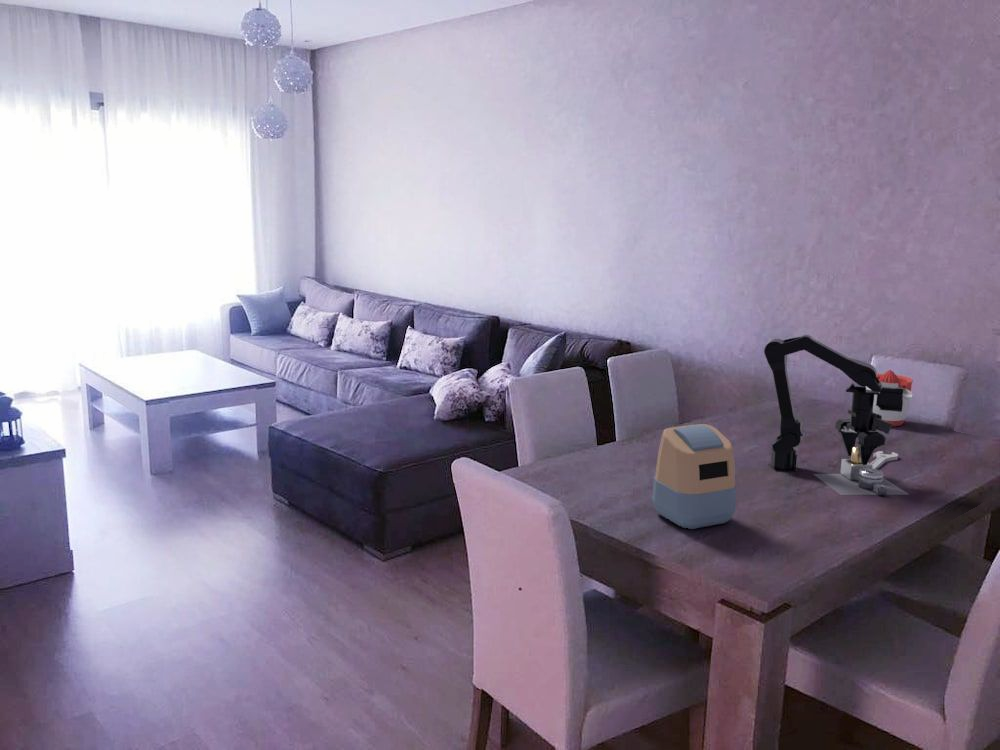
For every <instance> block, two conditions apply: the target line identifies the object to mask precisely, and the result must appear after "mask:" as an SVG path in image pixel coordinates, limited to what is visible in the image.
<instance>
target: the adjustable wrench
mask: <svg viewBox="0 0 1000 750" xmlns="http://www.w3.org/2000/svg"><path fill="white" fill-rule="evenodd" d="M872 454H873V456H872V458H874V460H873V461H871V462H869V463H870V464H872V465H873V469H879V468H880V467H881V466H882V465H883V464H885V463H887V462H890V461H897V460H898V459H899V454H898V453H897V452H894V451H893V452H891V454H890V453H889V454H887V453H884V451H883V450H877V451H876V452H873V453H872Z"/></svg>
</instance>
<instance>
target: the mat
mask: <svg viewBox="0 0 1000 750" xmlns="http://www.w3.org/2000/svg"><path fill="white" fill-rule="evenodd" d="M813 476H815V477H816V478H817V479H819V480H820V481H822V482H823V483H824V484H825V485H826V486H828V487H829V488H831V489H832V490H833V491H835V492H836V493H837V494H839V495H840V496H877V495H879V494H877V493H876V492H875V491H870V490H865V489H862V488H860V487H858V482H859V481H857V480H850V479H848V478H847V477H846V476H844V475H843V474H841V473H813ZM882 485H883V486H884V487H886V488H887V495H886V496H888V495H891V496H893V495H894V496H895V495H896V496H897V495H901V496H902V495H909V493H908V492H907V491H906V490H903V489H902V488H900V487H898V486H897V485H896V484H894V483H892V481H890V480H887V479H886V478H884V477H883V480H882ZM879 496H880V495H879Z"/></svg>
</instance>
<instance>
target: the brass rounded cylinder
mask: <svg viewBox="0 0 1000 750" xmlns="http://www.w3.org/2000/svg"><path fill="white" fill-rule="evenodd" d="M850 459H851V463H852V464H862V462H861V458H860V453H859V449H858V446H855V447H852V455H851V456H850Z"/></svg>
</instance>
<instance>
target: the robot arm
mask: <svg viewBox="0 0 1000 750" xmlns="http://www.w3.org/2000/svg"><path fill="white" fill-rule="evenodd" d="M800 351H805V352H807V353H809V354H811V355H812V356H813V357H814V356H815V357H816V358H818V359H820V360H822V361H824V362H826V363H827V364H829V365H831V366H834V367H835V368H837V369H839V370H840V371H842V372H843V374H845V375H846V376H847V377H848V378H850V379H851V380H852V382H851V384H850V385H849V386H847V387H846V389H845V392H846V393H852V394H851V395H852V396H851V407H850V409H847V414H849V415H850V416H849V417H850V418H839V419H837V420H836V421H835V429H837V432H838V434H839V436H840V439H841V441H842V444H843V446H844V449H845V452H846V454H847V456H849V457H851V455H852V447H856V446H855V445H856V444H857V447H858V449H859V453H860V458H861V462H862V465H867V463H869V460H870V459H871V456H872V454H874V451H875V449H878V447H882V446H885V445H886V441H887V437H886V436H885V435H884V434H886V435H889V433H890V432H891V429H892V427H893V426H892V425H893V424H891V423H889V422H887V421H885V420H883V419H882V416H881V415H879V414H876V413H874V412H873V405H874V395H877V402H876V406H878V408H880V410H886V411H897V412H902V406H903V388H901V387H896V388H893V387H882V384H881V382H880V381H879V380H878V378H877V377H876V374H878V373H877V370H876V367H875V366H874V365H872V364H871V363H868V362H865V361H862V360H859V359H855V358H851V357H848V356H846V355H845V354H842V353H841V352H839V351H837V350H835V349H833V348H831V347H830V346H828V345H826V344H824V343H822V342H820V341H819V340H817V339H815V338H813V337H812V336H811V335H809V334H803V335H800V336H798V337H797V336H796V337H791V338H788V339H787V338H786V339H781V338H773V339H772V340H770V341H769V342H768V343H766V345H765V347H764V349H763V352H764V357H765V358H766V361H767V363H768V365H769V368H770V370H771V372H772V374H773V381H774V386H775V392H776V396H777V402H778V407H779V408H778V409H779V413H780V429H779V430H780V433H779V435H778V436H776V438H775V439H774V442H773V443H772V445H771V450H770V451H771V452H770V463H768V466H769V467H770V468H771V469H772V470H773V471H774V472H797V469H796V468H797V462H798V454H796V453H797V450H796V449H795V448H796V447H798V446H799V445H800V444H801V441H802V439H803V436H804V434H805V432H806V430H805V428H804V425H803V424H804V423H803V421H804V419H803V418H799V419H798V416H797V415H796V412H795V408H794V402H793V397H792V392H791V386H790V379H789V376H788V375H789V374H788V369H787V368H788V367H787V365H788V355H791V354H795V353H798V352H800ZM855 383H856V384H855ZM866 386H867V387H868V388H869V389H871V390H867V389H866ZM879 392H880V394H879ZM878 431H879V432H878ZM880 432H883V433H884V434H882V433H880ZM857 439H858V441H857ZM856 441H857V442H856Z"/></svg>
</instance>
